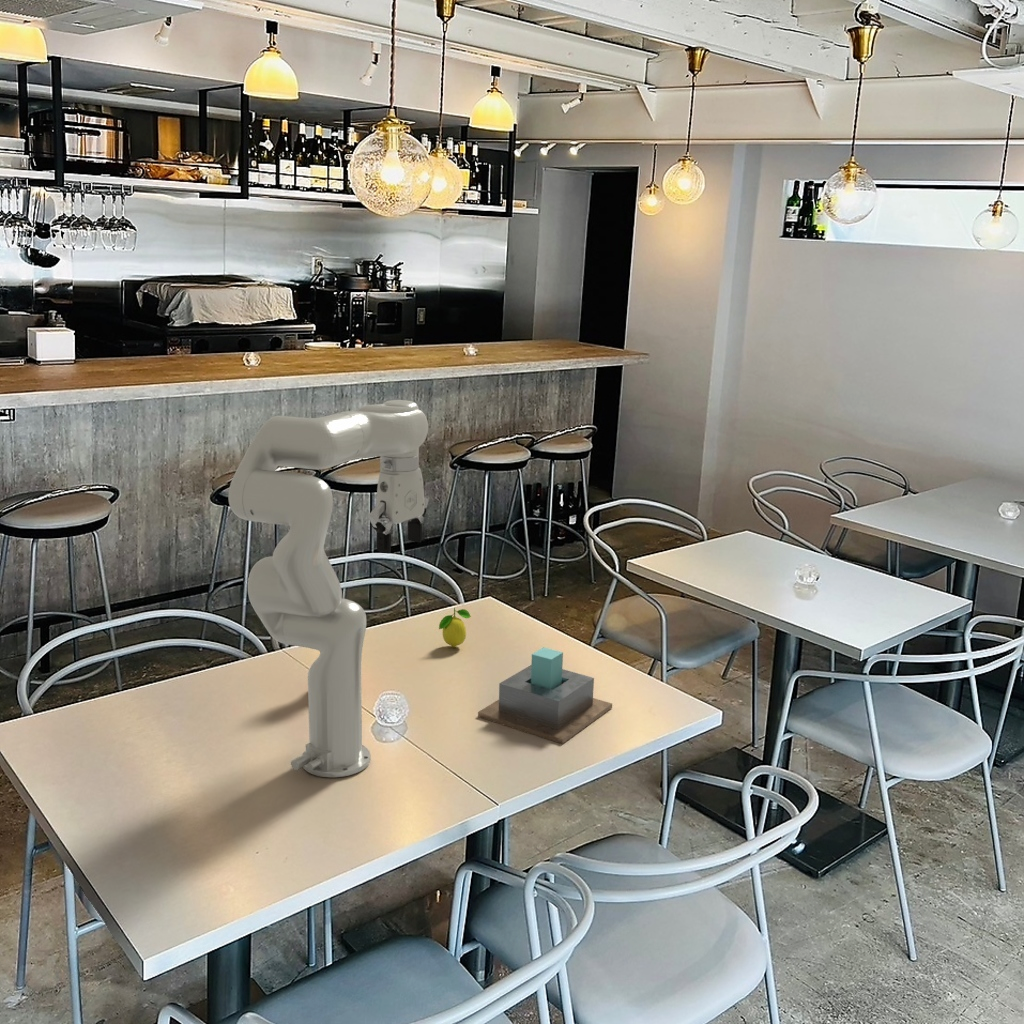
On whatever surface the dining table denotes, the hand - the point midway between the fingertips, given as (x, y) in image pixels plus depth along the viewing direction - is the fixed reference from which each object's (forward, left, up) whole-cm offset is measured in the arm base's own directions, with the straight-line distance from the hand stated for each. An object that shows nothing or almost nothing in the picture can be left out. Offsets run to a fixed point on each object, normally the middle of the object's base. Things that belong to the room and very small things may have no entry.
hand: (399, 546), depth 214 cm
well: (+13, -28, -33) cm, 45 cm away
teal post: (+13, -28, -32) cm, 45 cm away
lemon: (+30, +8, -34) cm, 46 cm away
